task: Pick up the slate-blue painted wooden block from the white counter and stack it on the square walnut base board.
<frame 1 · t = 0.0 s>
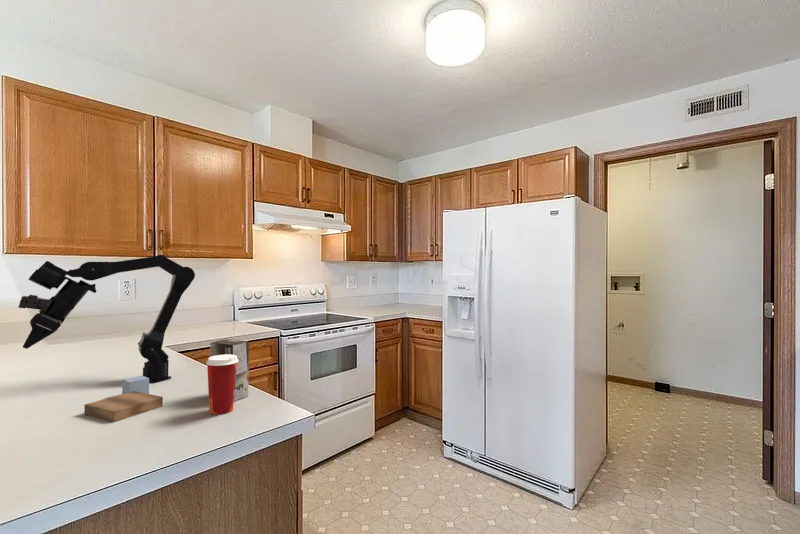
hand: (27, 345, 107), 15 cm above the counter, tool tilted 35°, fingers open, 9 cm apart
coffee box: (229, 397, 110), on the counter
base: (124, 410, 99), on the counter
block: (135, 396, 110), on the counter
paper cup: (221, 411, 99), on the counter
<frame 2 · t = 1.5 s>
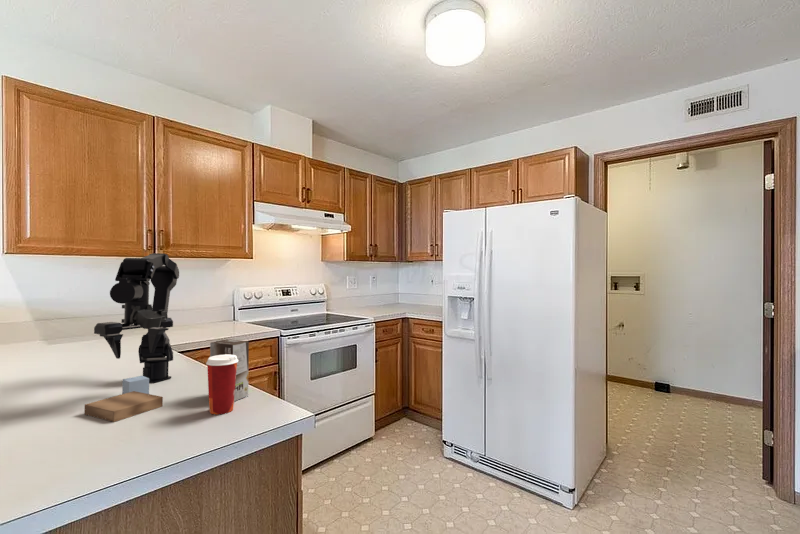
hand: (135, 355, 109), 12 cm above the counter, tool pointing down, fingers open, 9 cm apart
nothing on the counter moved.
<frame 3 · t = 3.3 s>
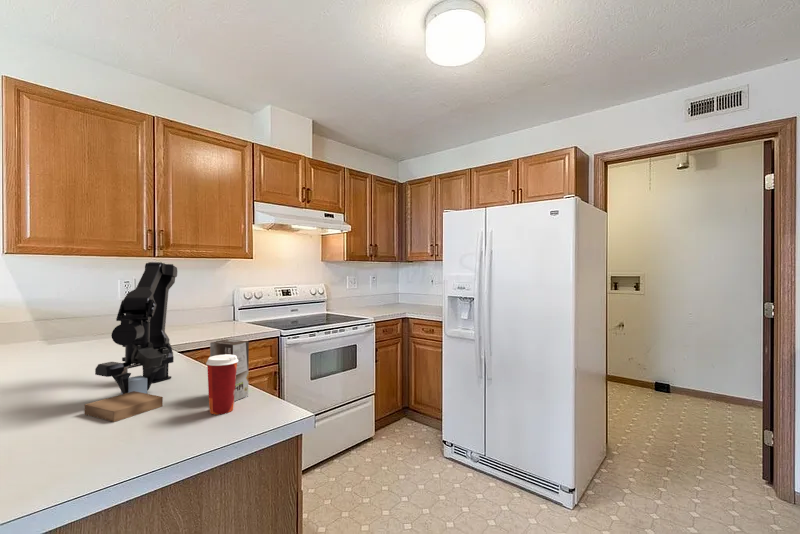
hand: (136, 393, 109), 1 cm above the counter, tool pointing down, fingers closed on block, 5 cm apart
block: (133, 395, 110), on the counter, touching gripper
everything else where it was.
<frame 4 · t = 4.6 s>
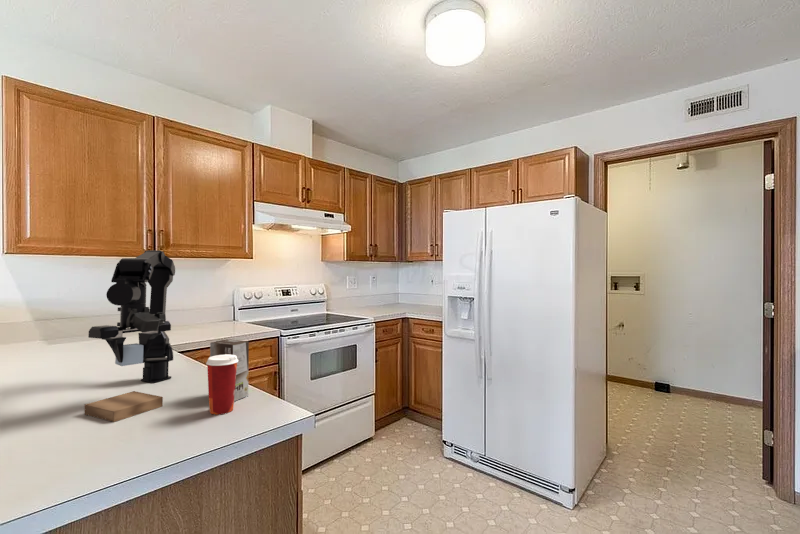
hand: (131, 360, 104), 12 cm above the counter, tool pointing down, fingers closed on block, 5 cm apart
block: (129, 363, 105), point 11 cm above the counter, touching gripper
everything else where it was.
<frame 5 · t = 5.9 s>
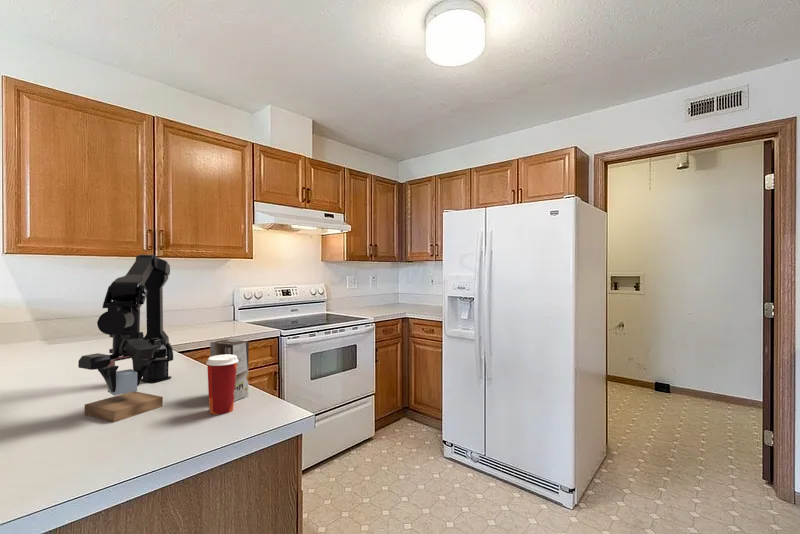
hand: (125, 388, 99), 6 cm above the counter, tool pointing down, fingers closed on block, 5 cm apart
block: (122, 391, 100), point 5 cm above the counter, touching gripper
everything else where it was.
when the fingers open (5 cm above the counter, at t = 6.4 s): block drops 1 cm, resting on base.
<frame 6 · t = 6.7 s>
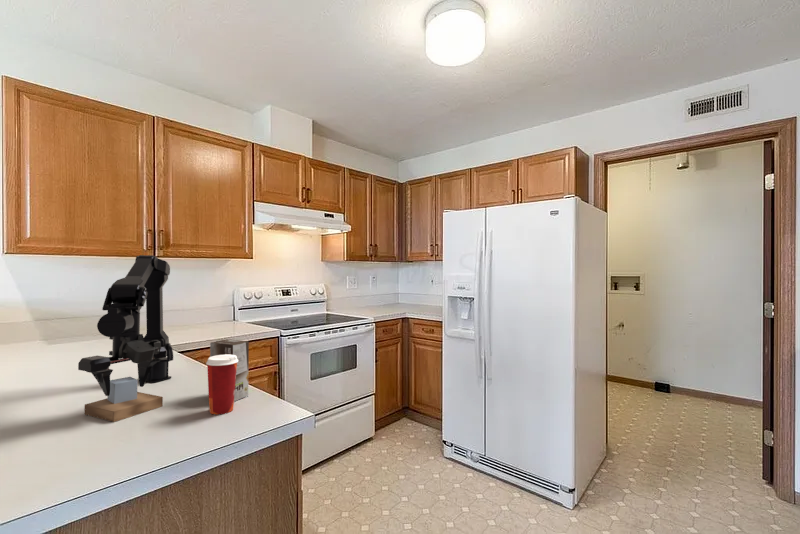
hand: (125, 390, 99), 5 cm above the counter, tool pointing down, fingers open, 8 cm apart
block: (122, 399, 100), point 2 cm above the counter, touching base
everything else where it was.
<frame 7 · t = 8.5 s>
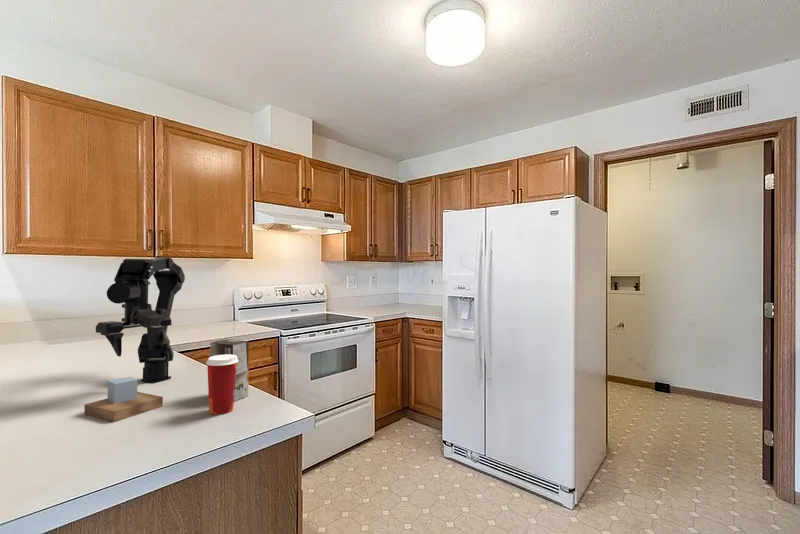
hand: (135, 353, 113), 12 cm above the counter, tool pointing down, fingers open, 9 cm apart
nothing on the counter moved.
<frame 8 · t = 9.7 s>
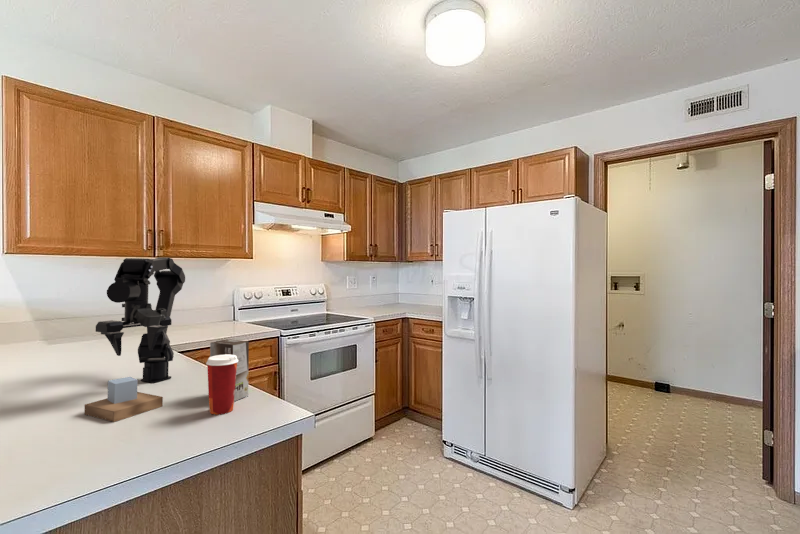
hand: (135, 352, 113), 12 cm above the counter, tool pointing down, fingers open, 9 cm apart
nothing on the counter moved.
at the end: block inside the target area on the base (1.6 cm from its centre), point 2.5 cm above the base's base; block tilted 0°; the gripper is holding nothing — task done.
